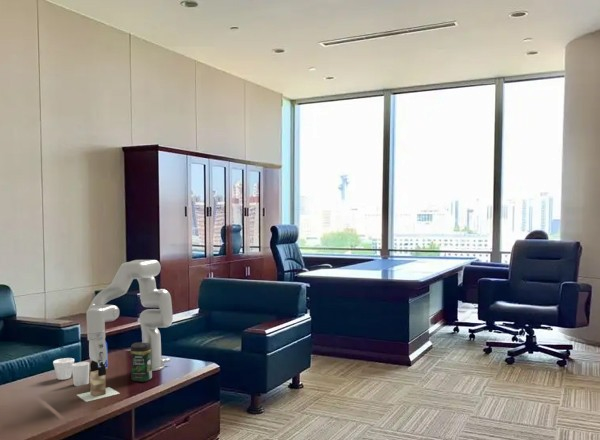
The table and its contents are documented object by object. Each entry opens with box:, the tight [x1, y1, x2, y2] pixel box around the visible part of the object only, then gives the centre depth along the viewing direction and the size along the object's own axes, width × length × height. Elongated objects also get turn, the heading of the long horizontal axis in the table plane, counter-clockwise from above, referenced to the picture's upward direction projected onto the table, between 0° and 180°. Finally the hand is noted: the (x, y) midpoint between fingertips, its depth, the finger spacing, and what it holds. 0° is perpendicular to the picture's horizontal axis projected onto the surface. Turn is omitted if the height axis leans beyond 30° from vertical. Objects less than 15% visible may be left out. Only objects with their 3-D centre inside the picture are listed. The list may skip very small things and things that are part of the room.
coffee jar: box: [130, 341, 153, 383], centre depth 259 cm, size 10×8×19 cm
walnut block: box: [89, 382, 107, 397], centre depth 235 cm, size 5×5×5 cm
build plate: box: [76, 386, 121, 403], centre depth 235 cm, size 15×13×1 cm
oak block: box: [89, 370, 106, 385], centre depth 235 cm, size 5×5×5 cm
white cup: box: [72, 361, 90, 387], centre depth 256 cm, size 8×8×10 cm
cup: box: [52, 357, 75, 381], centre depth 267 cm, size 10×10×9 cm
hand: (98, 373), depth 236 cm, fingers open, 9 cm apart
